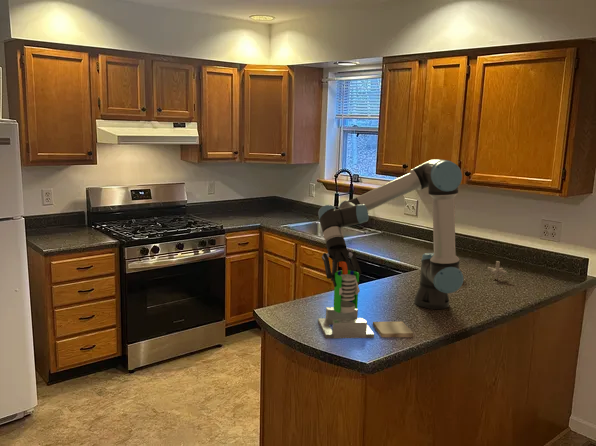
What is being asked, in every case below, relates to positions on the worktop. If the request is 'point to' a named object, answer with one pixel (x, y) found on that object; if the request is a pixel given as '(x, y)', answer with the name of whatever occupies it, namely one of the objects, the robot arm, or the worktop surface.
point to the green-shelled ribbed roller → (345, 290)
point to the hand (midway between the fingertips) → (349, 293)
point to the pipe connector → (497, 270)
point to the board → (392, 329)
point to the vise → (344, 325)
